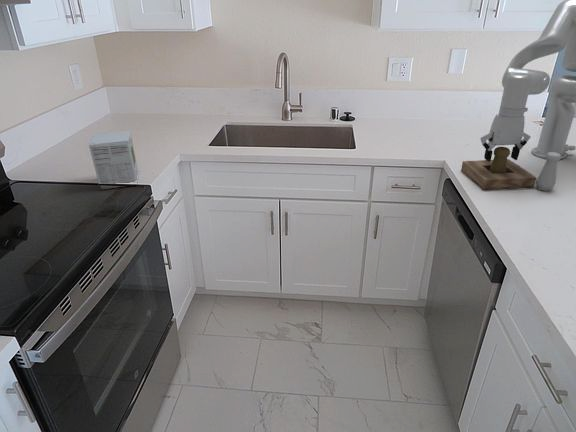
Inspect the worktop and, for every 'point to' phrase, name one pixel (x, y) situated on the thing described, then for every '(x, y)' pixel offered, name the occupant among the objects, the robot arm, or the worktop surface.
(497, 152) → the olive pepper mill
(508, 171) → the walnut holder
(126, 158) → the supplement box
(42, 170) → the worktop surface
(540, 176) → the salt shaker
